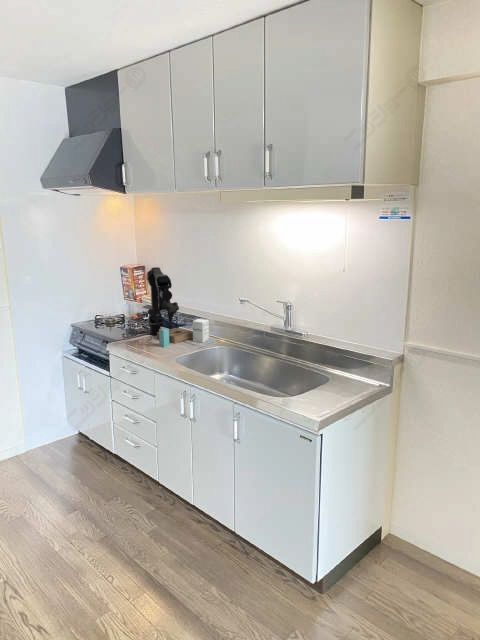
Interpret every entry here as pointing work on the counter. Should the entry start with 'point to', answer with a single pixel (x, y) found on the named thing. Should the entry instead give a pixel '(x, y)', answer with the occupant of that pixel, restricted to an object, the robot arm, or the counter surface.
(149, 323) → the robot arm
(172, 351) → the counter surface
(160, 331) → the teal peg
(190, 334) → the walnut socket
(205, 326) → the supplement box
